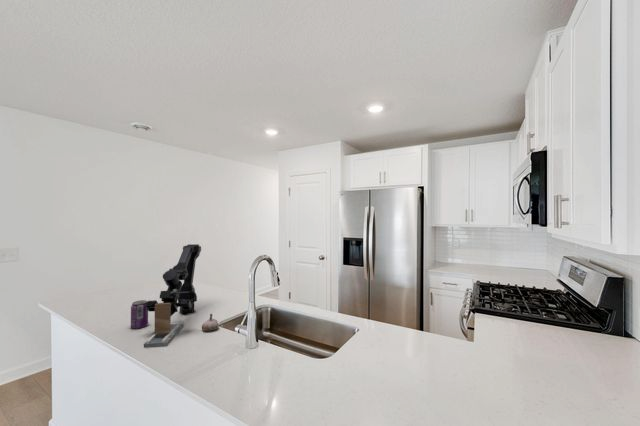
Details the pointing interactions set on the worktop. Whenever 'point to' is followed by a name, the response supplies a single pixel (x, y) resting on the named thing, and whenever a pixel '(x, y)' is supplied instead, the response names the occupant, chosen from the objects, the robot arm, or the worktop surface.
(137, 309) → the beverage can
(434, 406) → the worktop surface
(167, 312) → the fader handle
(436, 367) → the worktop surface
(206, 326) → the garlic bulb
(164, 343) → the fader track
